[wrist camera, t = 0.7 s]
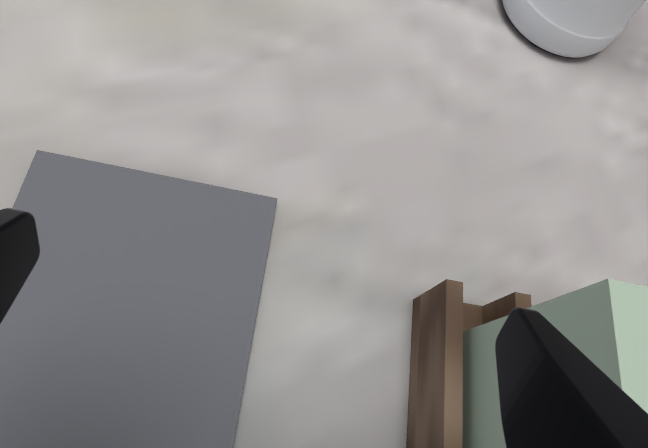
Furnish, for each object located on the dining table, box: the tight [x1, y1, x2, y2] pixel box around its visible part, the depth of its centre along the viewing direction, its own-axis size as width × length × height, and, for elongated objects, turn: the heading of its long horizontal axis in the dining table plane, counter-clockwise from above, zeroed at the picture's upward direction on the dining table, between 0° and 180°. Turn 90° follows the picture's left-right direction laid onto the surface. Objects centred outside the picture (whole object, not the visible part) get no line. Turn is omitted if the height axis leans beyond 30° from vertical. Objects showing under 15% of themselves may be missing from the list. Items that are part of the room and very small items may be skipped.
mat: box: [0, 150, 277, 448], centre depth 21 cm, size 18×12×1 cm, turn 173°
